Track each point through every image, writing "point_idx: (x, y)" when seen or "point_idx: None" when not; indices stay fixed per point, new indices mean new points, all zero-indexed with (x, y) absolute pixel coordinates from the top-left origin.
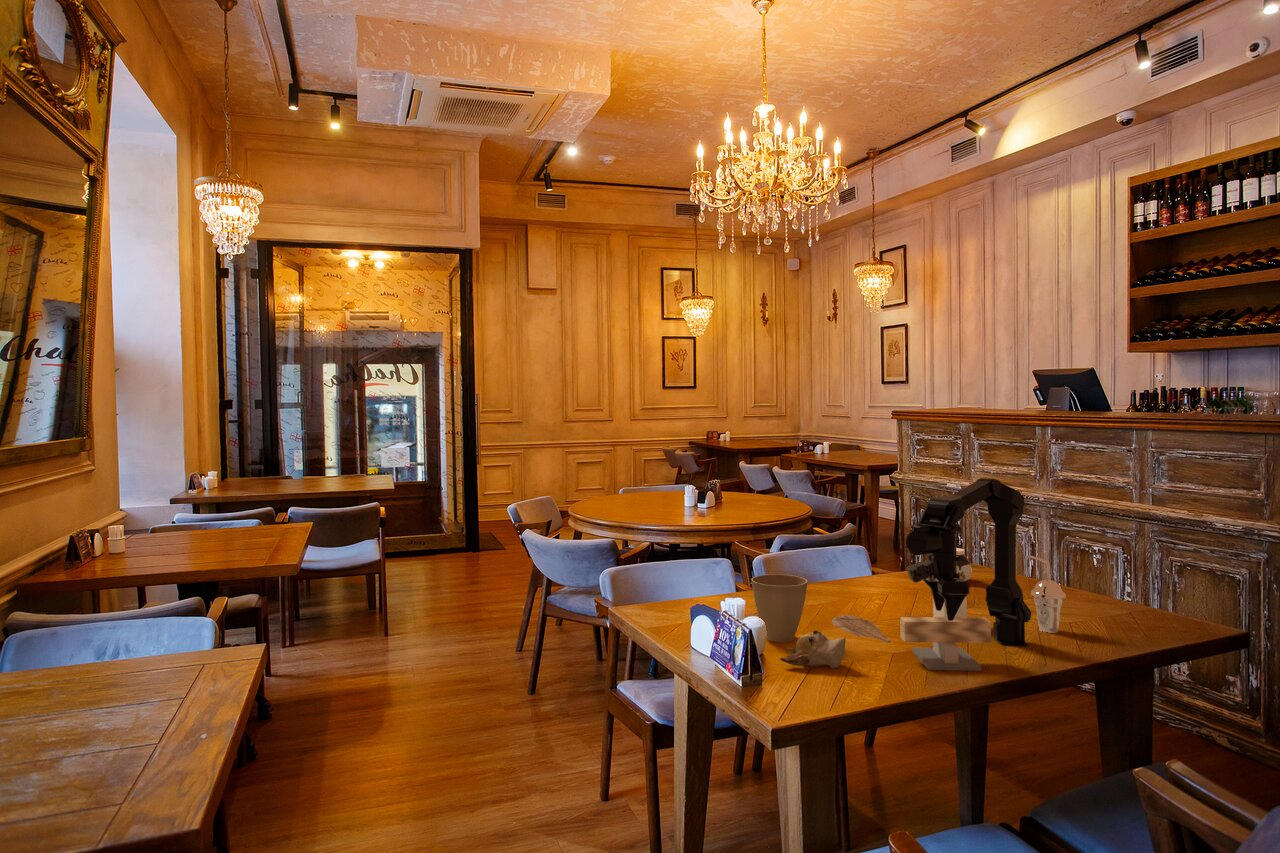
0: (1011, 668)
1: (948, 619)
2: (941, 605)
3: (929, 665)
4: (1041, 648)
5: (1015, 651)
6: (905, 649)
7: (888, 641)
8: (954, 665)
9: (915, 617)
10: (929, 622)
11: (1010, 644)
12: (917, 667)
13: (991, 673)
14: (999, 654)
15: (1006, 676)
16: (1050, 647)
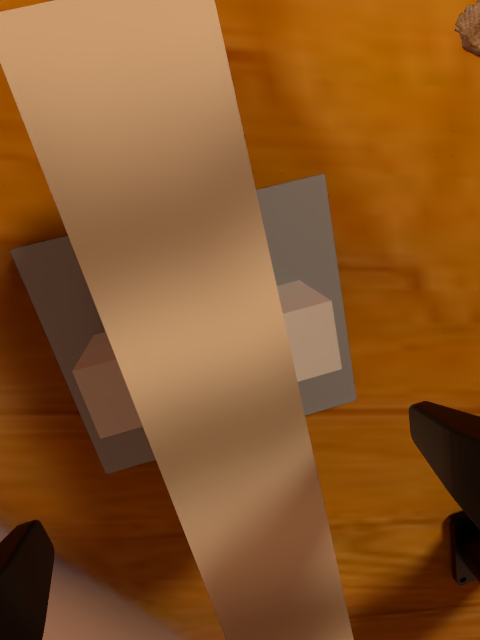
0: (181, 547)
1: (12, 532)
2: (445, 477)
3: (18, 257)
4: (428, 608)
5: (386, 550)
6: (346, 138)
7: (468, 40)
8: (71, 374)
9: (242, 178)
10: (106, 321)
11: (452, 539)
12: (43, 192)
13: (89, 493)
14: (342, 510)
15: (72, 538)
16: (440, 626)
